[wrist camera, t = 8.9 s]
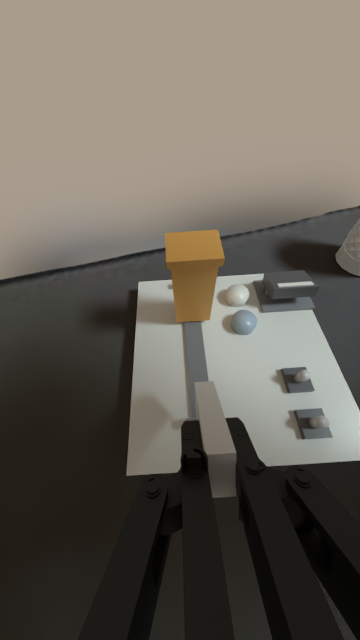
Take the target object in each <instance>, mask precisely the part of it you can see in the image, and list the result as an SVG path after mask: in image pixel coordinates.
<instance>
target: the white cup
mask: <svg viewBox="0 0 360 640" xmlns="http://www.w3.org/2000/svg"><path fill="white" fill-rule="evenodd" d="M335 257H336V262H337V263H338V264H339V265H340V266H341V268H342V269H344V270H346V271H347V272H349V273H351V274H353V275H357V276H360V217H359V218H358V220H357V221H356V223H355V225H354V226H353V227H352V229H351V230H350V232H349V234H348V235H347V236H346V239H345V241H344V242H343V244H342V246H341V247H340V248H339V250H338V251H337V253H336V254H335Z"/></svg>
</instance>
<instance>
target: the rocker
mask: <svg viewBox="0 0 360 640" xmlns="http://www.w3.org/2000/svg"><path fill="white" fill-rule="evenodd" d="M262 283H263V285H264V286H265V288H266V290H267V292H268V293H269V295H270V297H271V298H272V299H283V298H298V297H313V296H315V294H316V292H317V290H318V288H319V286H318V285H317V284H316V282H315V281H314V280H313V279H312V278H311V277H310V276H309V275H308V274H307V273H306V272H305V271H304V270H300V271H285V272H270V273H264V277H263V280H262Z"/></svg>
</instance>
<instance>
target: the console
mask: <svg viewBox="0 0 360 640" xmlns="http://www.w3.org/2000/svg"><path fill="white" fill-rule="evenodd" d="M263 277H264V274H252V275H237V276H222V277H217V279H216V285H215V291H214V297H213V303H212V309H211V315H210V320H205V321H190V322H176V316H175V306H174V296H173V286H172V280H162V281H147V282H139V286H138V301H137V317H136V333H135V348H134V364H133V380H132V396H131V411H130V427H129V443H128V458H127V474H126V476H131V475H146V474H162V473H177V472H178V471H179V470H180V467H181V460H180V458H181V454H182V453H181V426H182V424H183V422H184V421H194V420H197V417H196V404H195V384H194V382H207V381H213V382H214V385H215V388H216V391H217V394H218V397H219V400H220V403H221V406H222V410H223V413H224V416H225V418H234V417H238V418H239V419H240V420H241V421H242V422H243V423H244V425H245V428H246V431H247V432H248V434H249V437H250V439H251V441H252V444H253V446H254V448H255V451H256V453H257V455H258V457H259V459H260V460H261V461H262V462H264V464H265V465H266V466H267V467H268V466H283V465H299V464H314V463H329V462H344V461H359V460H360V411H359V408H358V406H357V404H356V402H355V400H354V398H353V396H352V394H351V392H350V389H349V387H348V385H347V383H346V381H345V379H344V377H343V375H342V372H341V370H340V368H339V366H338V364H337V362H336V360H335V358H334V355H333V353H332V351H331V349H330V347H329V345H328V343H327V341H326V339H325V336H324V334H323V332H322V330H321V328H320V326H319V324H318V322H317V319H316V317H315V315H314V313H313V311H312V310H314V308H315V306H314V304H313V302H312V300H311V298H310V297H298V298H283V299H272V298H271V297H270V295H269V293H268V292H267V290H266V288H265V286H264V285H263V283H262V280H263Z"/></svg>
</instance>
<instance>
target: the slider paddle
mask: <svg viewBox="0 0 360 640" xmlns="http://www.w3.org/2000/svg"><path fill="white" fill-rule="evenodd" d="M165 240H166V265H167V270H170V269H171V276H172V286H173V296H174V306H175V316H176V322H190V321H205V320H210V315H211V309H212V303H213V297H214V291H215V285H216V279H217V273H218V267H219V266H223V265H224V260H225V257H224V253H223V249H222V245H221V241H220V237H219V232H218V230H205V231H190V232H175V233H165Z"/></svg>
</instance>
